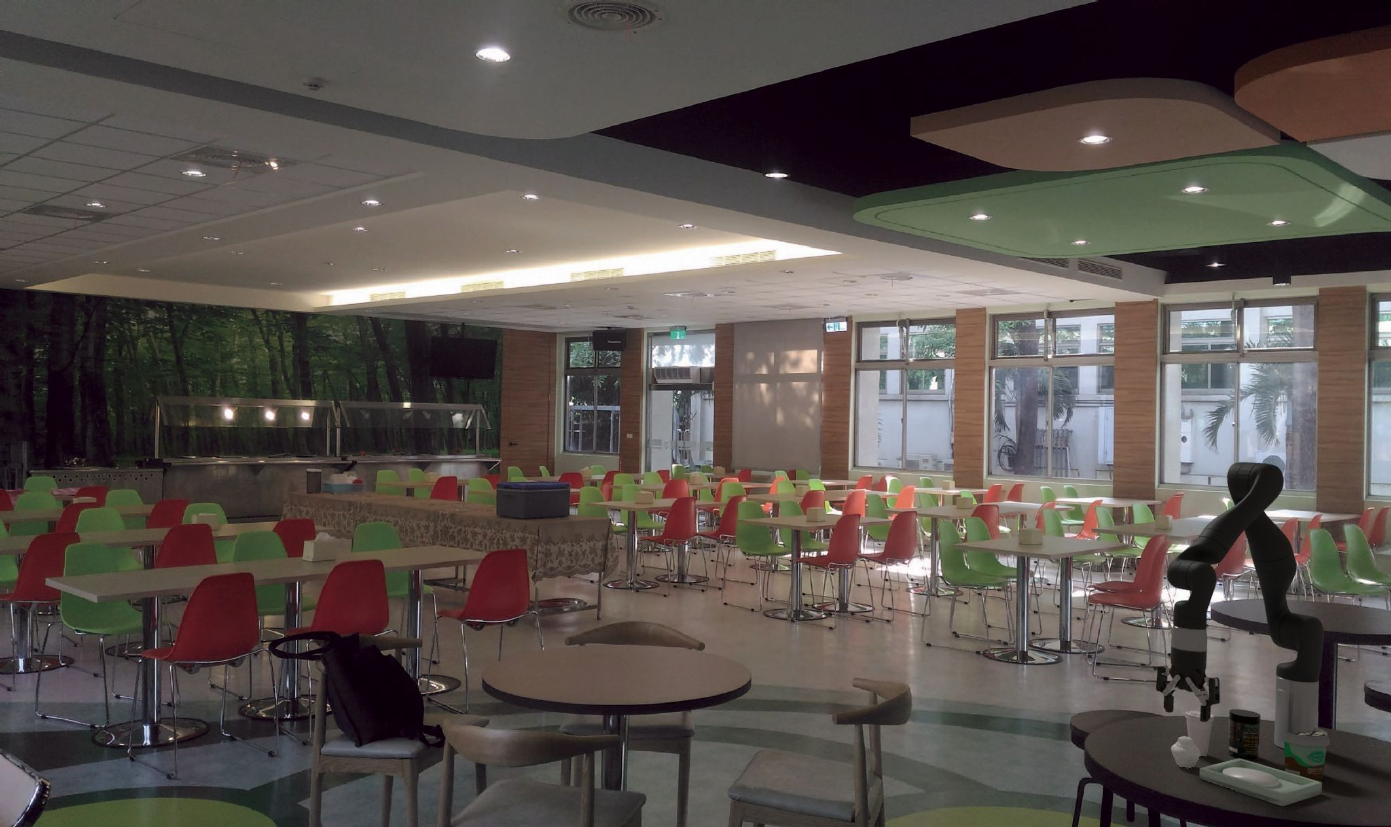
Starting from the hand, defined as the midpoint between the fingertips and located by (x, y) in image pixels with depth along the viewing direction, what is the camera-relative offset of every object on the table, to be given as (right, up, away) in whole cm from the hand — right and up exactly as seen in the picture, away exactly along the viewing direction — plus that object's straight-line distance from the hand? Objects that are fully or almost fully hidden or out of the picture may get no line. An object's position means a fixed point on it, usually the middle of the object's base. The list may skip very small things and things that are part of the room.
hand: (1186, 716), depth 234 cm
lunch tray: (+10, -12, -13) cm, 20 cm away
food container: (+26, -13, -5) cm, 29 cm away
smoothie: (+8, -12, +10) cm, 17 cm away
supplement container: (+18, -13, +9) cm, 24 cm away
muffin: (0, -12, 0) cm, 12 cm away
